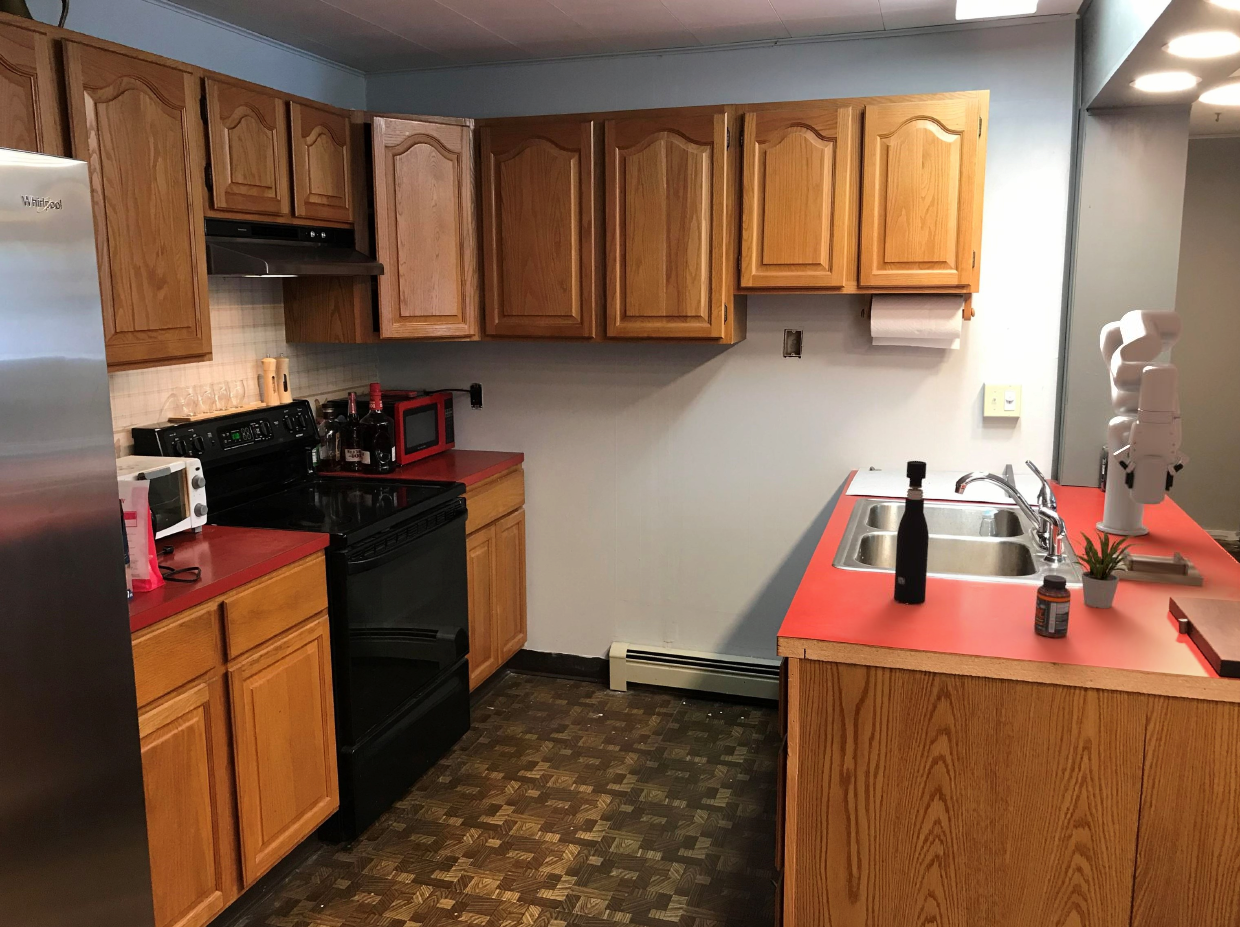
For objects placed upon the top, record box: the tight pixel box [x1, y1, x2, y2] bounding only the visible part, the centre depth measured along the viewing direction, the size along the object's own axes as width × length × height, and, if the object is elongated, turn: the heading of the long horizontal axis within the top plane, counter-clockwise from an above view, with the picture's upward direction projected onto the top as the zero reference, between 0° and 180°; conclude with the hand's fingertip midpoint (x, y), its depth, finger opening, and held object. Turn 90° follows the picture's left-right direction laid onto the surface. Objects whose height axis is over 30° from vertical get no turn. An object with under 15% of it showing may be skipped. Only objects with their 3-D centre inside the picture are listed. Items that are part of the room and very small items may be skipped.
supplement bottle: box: [1033, 574, 1071, 639], centre depth 187 cm, size 6×6×11 cm
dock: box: [1108, 547, 1204, 587], centre depth 226 cm, size 16×18×4 cm
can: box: [1130, 456, 1168, 505], centre depth 236 cm, size 8×8×12 cm
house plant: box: [1070, 527, 1143, 609], centre depth 203 cm, size 14×14×16 cm
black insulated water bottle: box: [893, 460, 930, 605], centre depth 205 cm, size 6×6×30 cm
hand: (1147, 488), depth 237 cm, fingers closed on can, 7 cm apart
